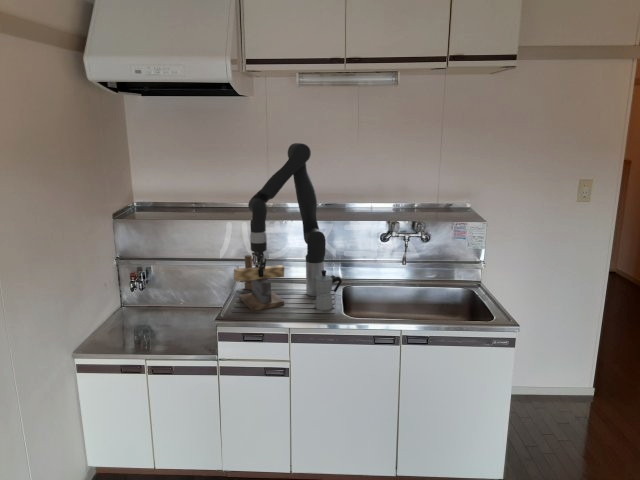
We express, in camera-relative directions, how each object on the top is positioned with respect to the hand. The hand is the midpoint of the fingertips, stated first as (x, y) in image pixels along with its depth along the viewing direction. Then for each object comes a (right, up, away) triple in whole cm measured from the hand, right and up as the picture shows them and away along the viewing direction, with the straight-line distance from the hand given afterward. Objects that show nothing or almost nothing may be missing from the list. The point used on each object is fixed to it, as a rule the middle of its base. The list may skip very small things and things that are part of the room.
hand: (259, 275), depth 232 cm
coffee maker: (+32, -15, -4) cm, 35 cm away
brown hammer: (-5, -9, +21) cm, 23 cm away
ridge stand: (+1, -13, +4) cm, 14 cm away
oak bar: (0, -1, 0) cm, 1 cm away
